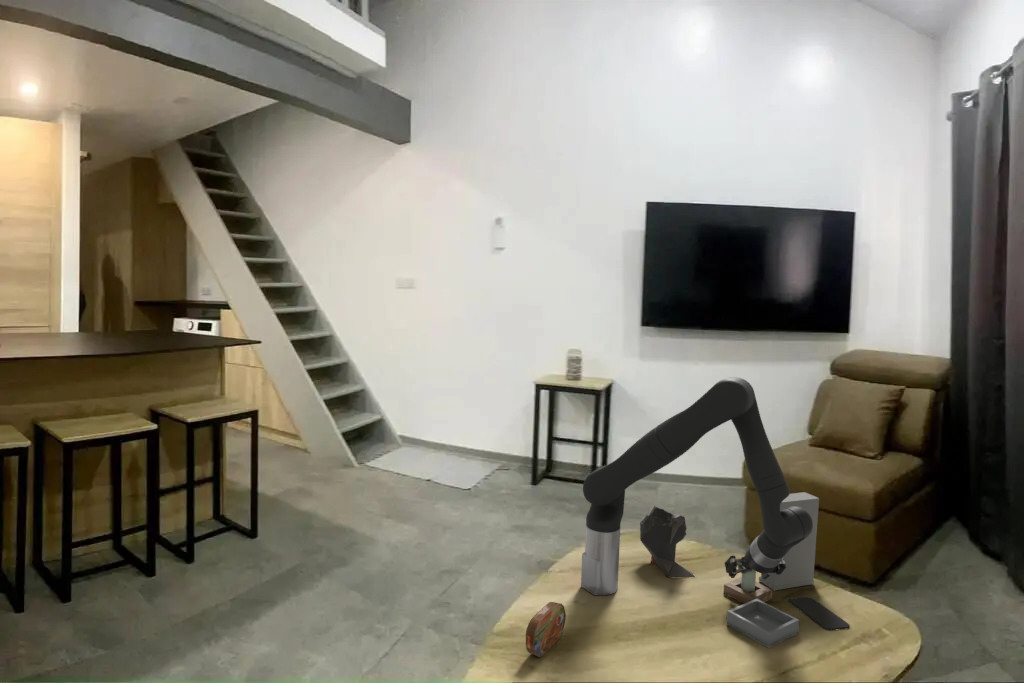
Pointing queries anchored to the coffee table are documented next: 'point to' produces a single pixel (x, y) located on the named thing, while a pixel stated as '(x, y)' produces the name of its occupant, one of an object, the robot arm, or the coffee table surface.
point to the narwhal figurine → (664, 540)
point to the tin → (545, 628)
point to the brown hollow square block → (743, 596)
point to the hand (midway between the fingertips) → (747, 574)
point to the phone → (818, 613)
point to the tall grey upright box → (798, 549)
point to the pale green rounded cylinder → (748, 581)
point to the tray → (763, 622)
